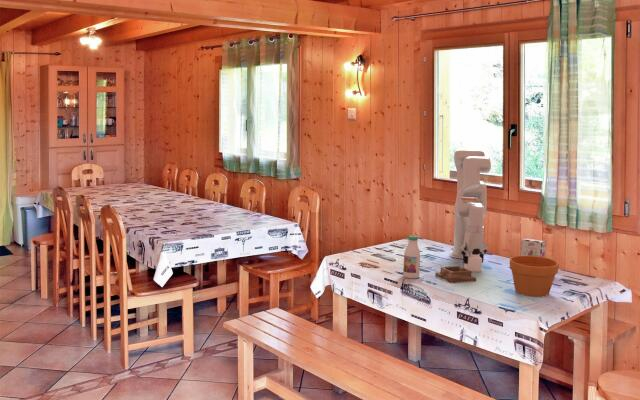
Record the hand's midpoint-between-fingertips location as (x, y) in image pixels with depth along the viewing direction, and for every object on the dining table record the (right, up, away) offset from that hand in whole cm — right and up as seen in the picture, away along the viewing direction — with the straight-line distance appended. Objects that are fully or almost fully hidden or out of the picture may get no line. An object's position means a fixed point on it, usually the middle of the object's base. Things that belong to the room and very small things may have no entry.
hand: (473, 262), depth 328 cm
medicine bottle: (0, -4, +1) cm, 4 cm away
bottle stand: (-12, -6, -17) cm, 22 cm away
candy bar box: (+31, -5, +2) cm, 31 cm away
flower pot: (+17, -10, -38) cm, 43 cm away
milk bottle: (-34, -5, -17) cm, 38 cm away
